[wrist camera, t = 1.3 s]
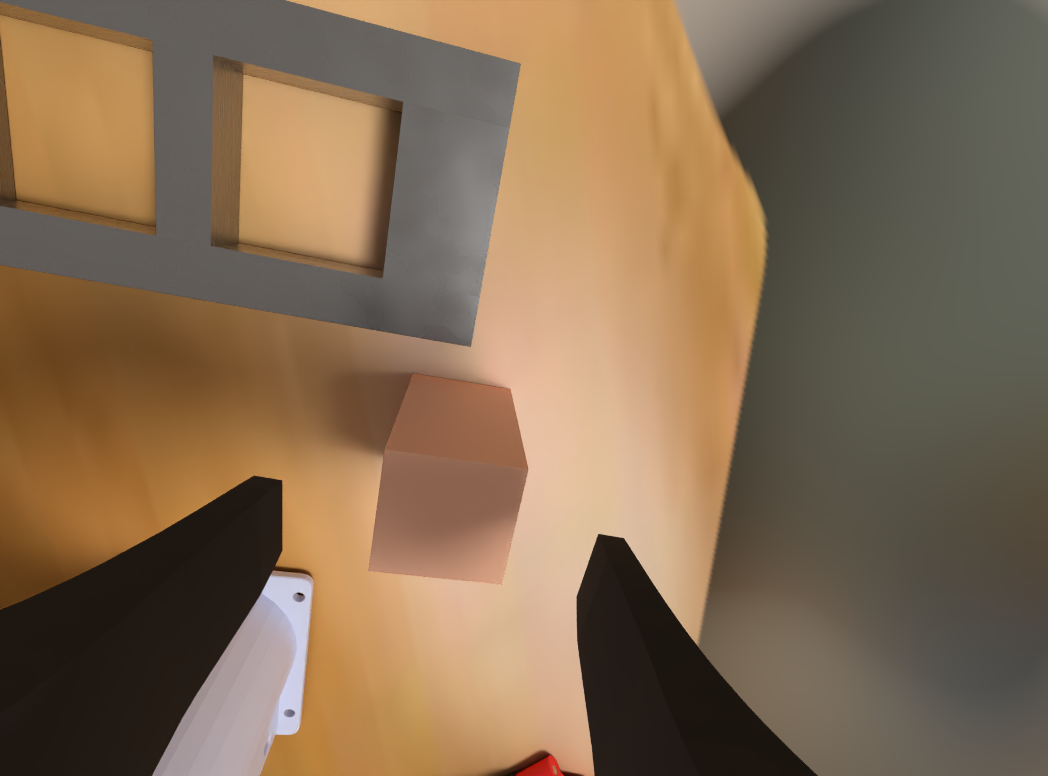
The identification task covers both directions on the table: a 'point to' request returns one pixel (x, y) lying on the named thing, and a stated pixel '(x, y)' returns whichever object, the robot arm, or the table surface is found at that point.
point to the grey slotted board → (215, 157)
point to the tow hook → (541, 768)
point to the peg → (450, 483)
